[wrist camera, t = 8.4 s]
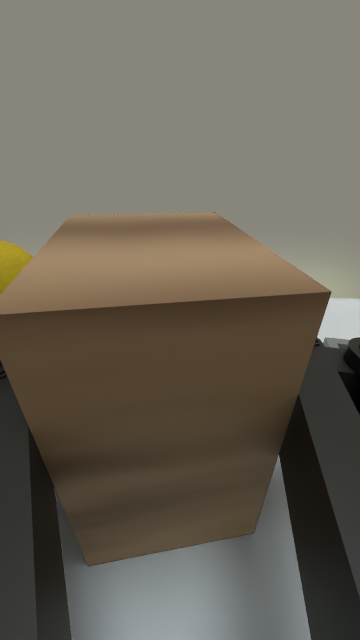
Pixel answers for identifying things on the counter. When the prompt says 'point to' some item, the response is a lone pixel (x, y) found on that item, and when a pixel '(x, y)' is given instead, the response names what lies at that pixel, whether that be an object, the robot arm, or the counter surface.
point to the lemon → (11, 263)
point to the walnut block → (158, 374)
